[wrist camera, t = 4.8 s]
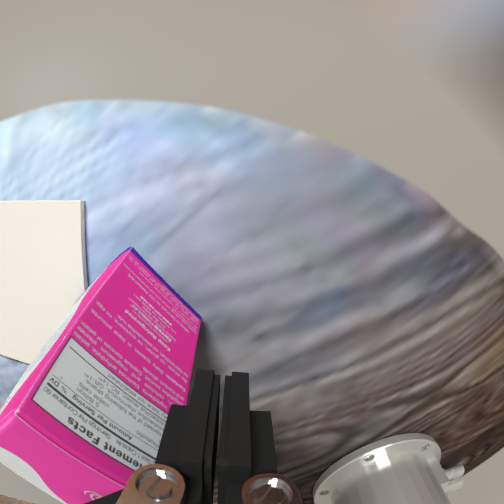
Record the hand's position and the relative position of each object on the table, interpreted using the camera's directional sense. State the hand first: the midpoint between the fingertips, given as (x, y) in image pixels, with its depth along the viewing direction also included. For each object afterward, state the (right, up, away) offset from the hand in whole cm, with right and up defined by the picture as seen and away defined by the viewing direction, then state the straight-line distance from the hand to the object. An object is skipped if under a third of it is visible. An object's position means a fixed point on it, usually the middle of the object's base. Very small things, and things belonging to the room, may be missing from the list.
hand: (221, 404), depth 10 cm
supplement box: (-6, +2, +8) cm, 10 cm away
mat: (-15, +3, +8) cm, 17 cm away
